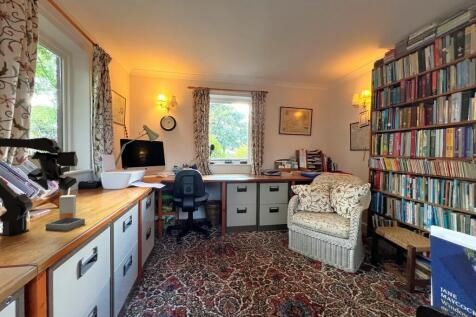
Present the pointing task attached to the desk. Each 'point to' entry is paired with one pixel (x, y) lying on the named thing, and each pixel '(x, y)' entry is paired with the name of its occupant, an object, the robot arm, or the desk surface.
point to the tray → (65, 224)
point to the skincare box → (67, 206)
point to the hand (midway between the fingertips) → (56, 192)
